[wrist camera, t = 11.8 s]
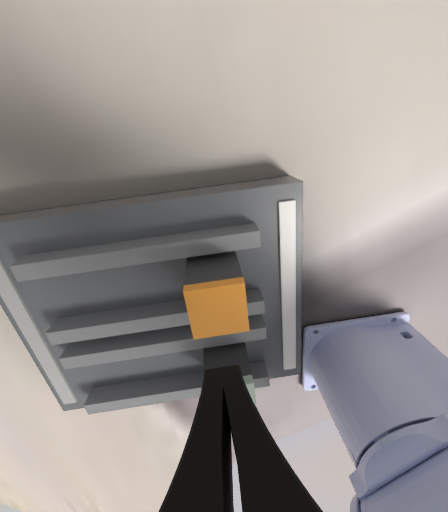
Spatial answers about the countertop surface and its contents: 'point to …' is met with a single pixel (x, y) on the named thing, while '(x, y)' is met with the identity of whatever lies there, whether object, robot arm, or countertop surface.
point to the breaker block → (152, 291)
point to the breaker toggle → (215, 295)
